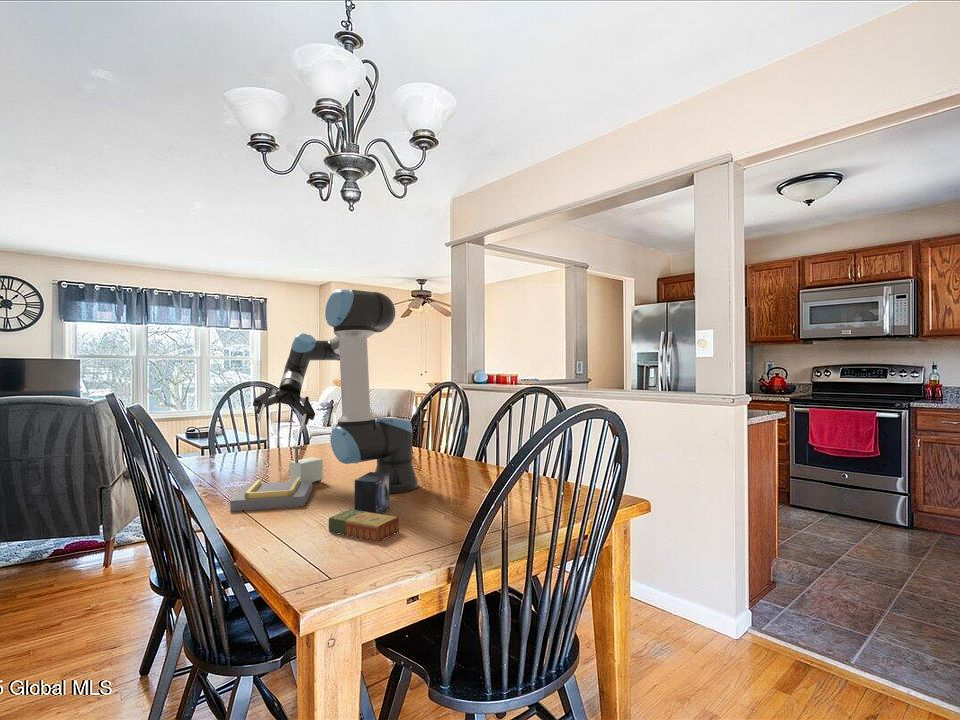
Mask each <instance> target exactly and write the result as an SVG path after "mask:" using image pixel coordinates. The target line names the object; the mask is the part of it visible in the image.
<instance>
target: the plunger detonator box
mask: <svg viewBox="0 0 960 720" xmlns="http://www.w3.org/2000/svg"><path fill="white" fill-rule="evenodd" d="M291 448H292V449H293V450H294V460H293V461H292V460H291V461H289V466H288V467H289V481H295V480H296V479H297V477H300V481H307V480H312V483H314V482H316V483H318V484H320V483H321V482H322V480H323V479H324V477H323V476H324V475H323V474H324V473H323V472H324V471H323V467H324V466H323V459H322V458H319V457H311V456H310V457H306V458H302V459H299V450H301V449H302V448H301V446H297V445H293V446H292V447H291Z"/></svg>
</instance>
